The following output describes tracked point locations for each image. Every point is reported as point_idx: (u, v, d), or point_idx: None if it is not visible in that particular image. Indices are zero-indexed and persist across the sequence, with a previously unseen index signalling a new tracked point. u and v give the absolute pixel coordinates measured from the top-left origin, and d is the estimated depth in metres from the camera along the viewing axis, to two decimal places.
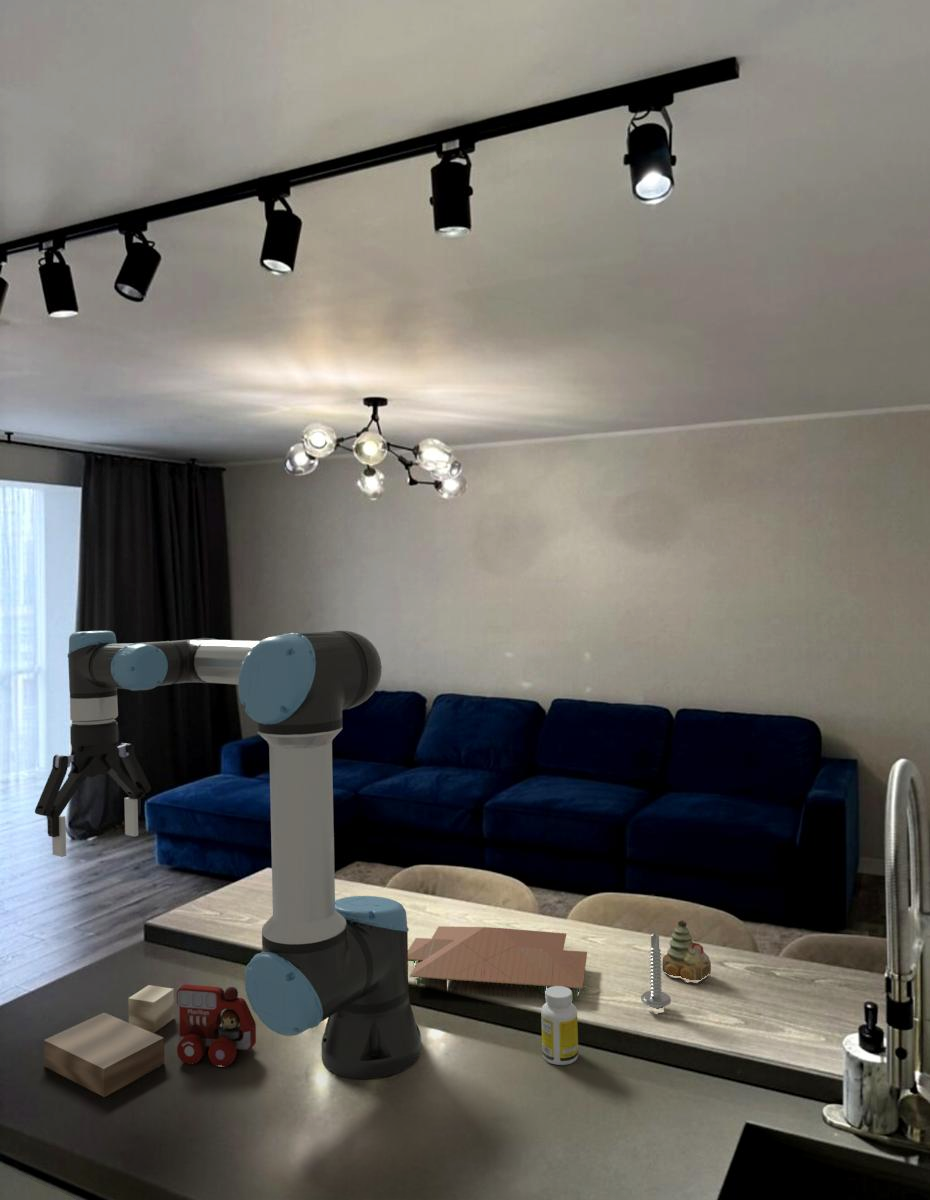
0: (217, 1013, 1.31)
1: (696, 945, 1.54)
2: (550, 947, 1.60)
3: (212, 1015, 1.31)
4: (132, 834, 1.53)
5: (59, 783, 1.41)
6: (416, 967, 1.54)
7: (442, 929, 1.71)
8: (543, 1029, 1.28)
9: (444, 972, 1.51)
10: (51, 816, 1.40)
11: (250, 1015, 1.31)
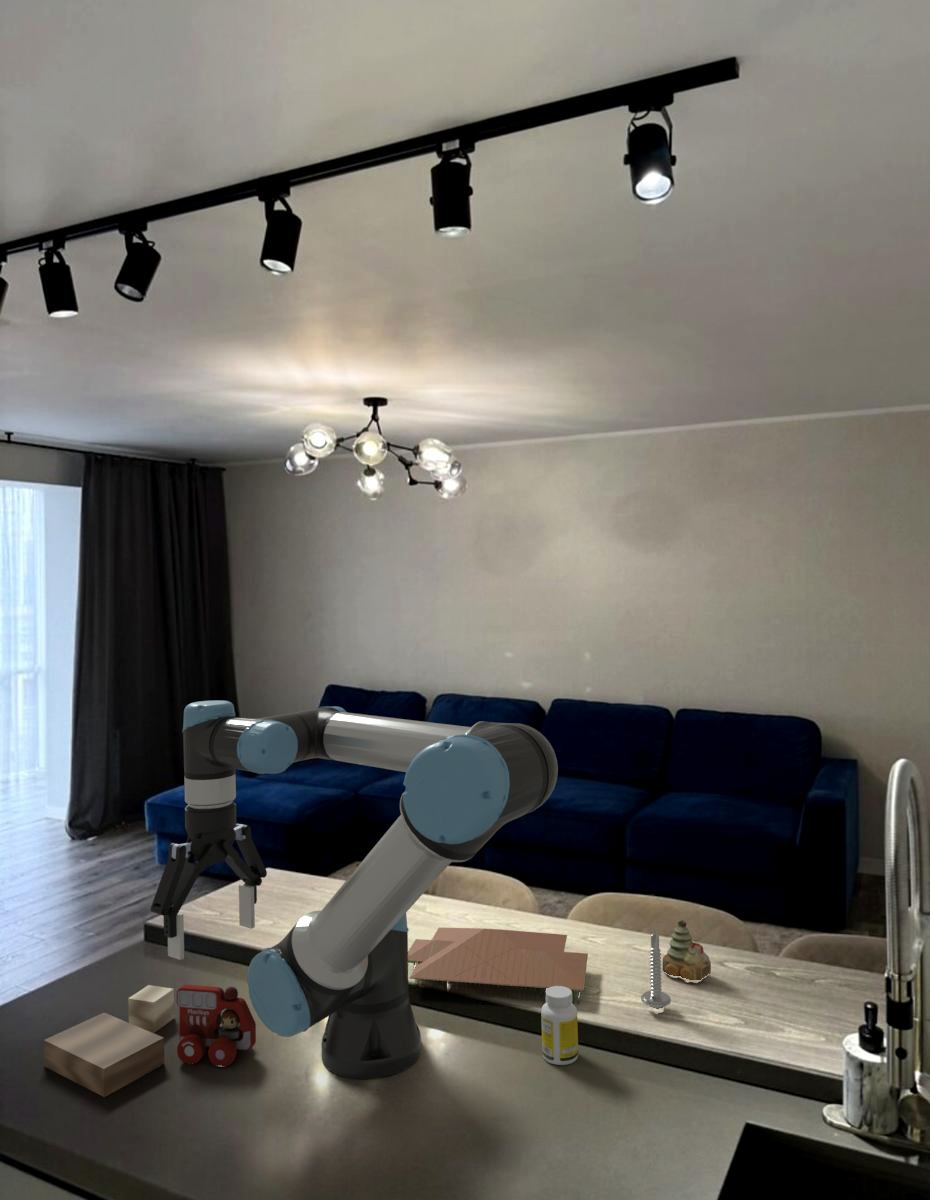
0: (217, 1013, 1.31)
1: (696, 945, 1.54)
2: (551, 949, 1.59)
3: (212, 1015, 1.31)
4: (248, 926, 1.37)
5: (177, 876, 1.25)
6: (416, 969, 1.54)
7: (442, 930, 1.70)
8: (543, 1029, 1.28)
9: (444, 974, 1.51)
10: (169, 914, 1.24)
11: (250, 1015, 1.31)
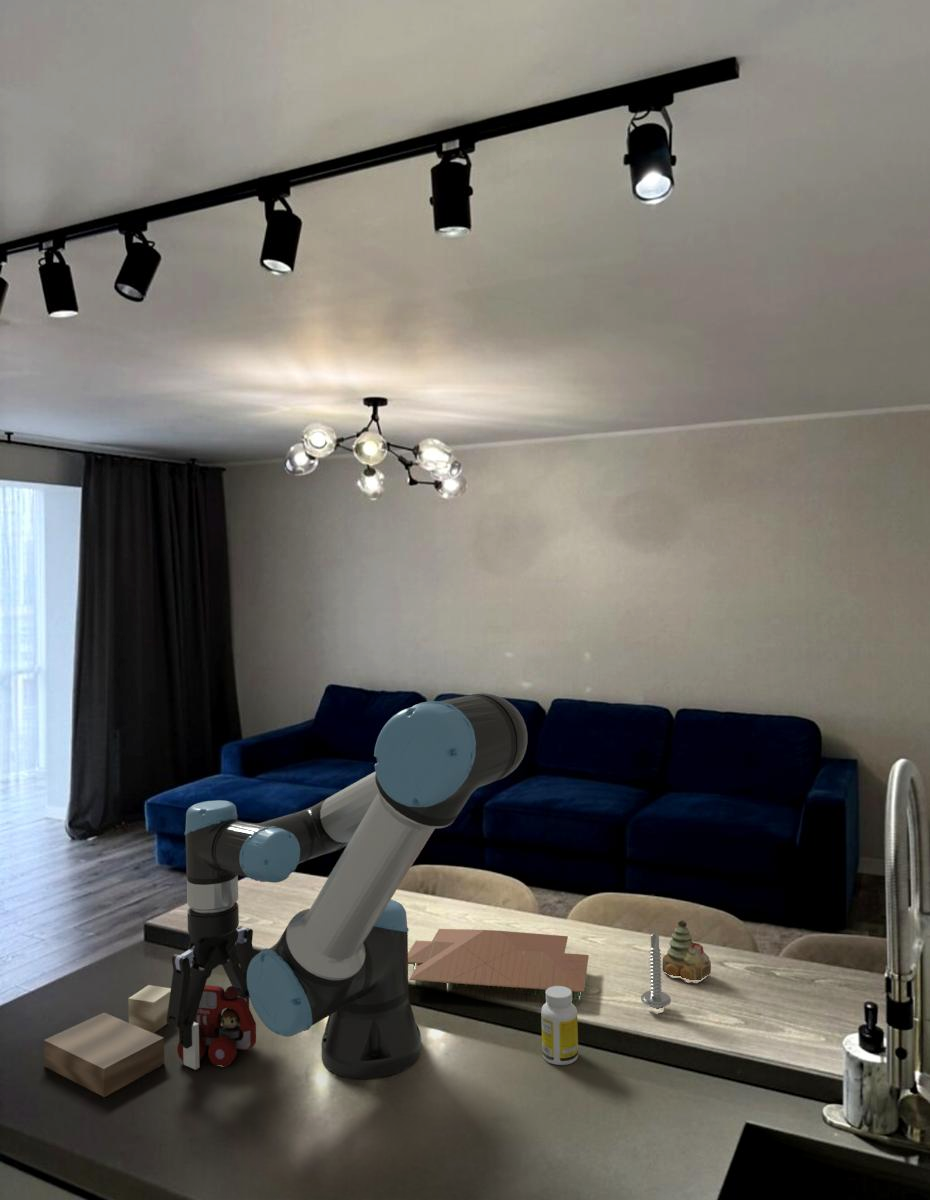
0: (217, 1012, 1.31)
1: (696, 945, 1.54)
2: (551, 950, 1.59)
3: (212, 1014, 1.31)
4: None
5: (185, 988, 1.26)
6: (416, 970, 1.53)
7: (442, 932, 1.69)
8: (543, 1029, 1.28)
9: (444, 976, 1.50)
10: (185, 1026, 1.26)
11: (250, 1015, 1.31)
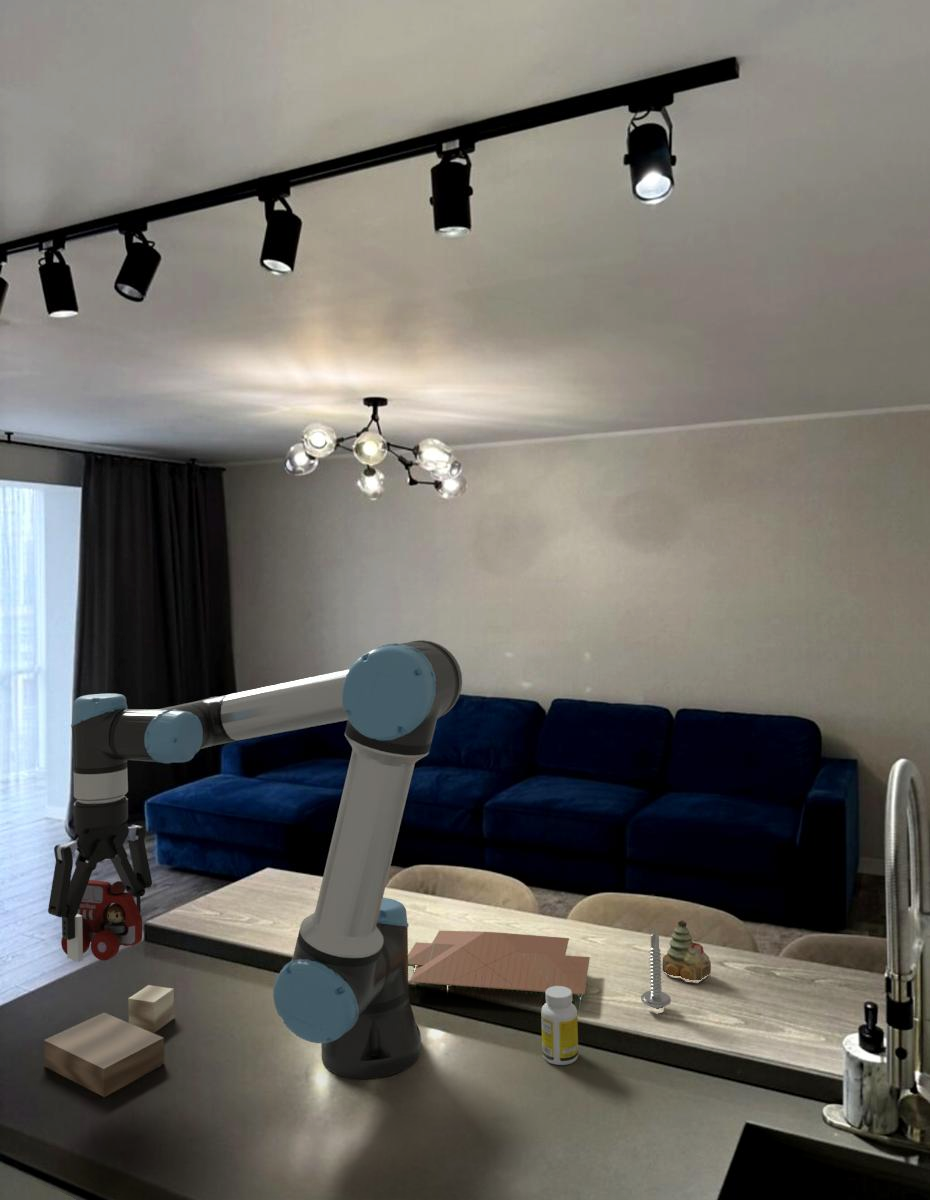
0: (103, 907, 1.29)
1: (696, 945, 1.54)
2: (552, 952, 1.58)
3: (98, 909, 1.29)
4: None
5: (67, 877, 1.24)
6: (416, 972, 1.52)
7: (443, 933, 1.68)
8: (543, 1029, 1.28)
9: (444, 978, 1.49)
10: (67, 917, 1.24)
11: (136, 910, 1.29)
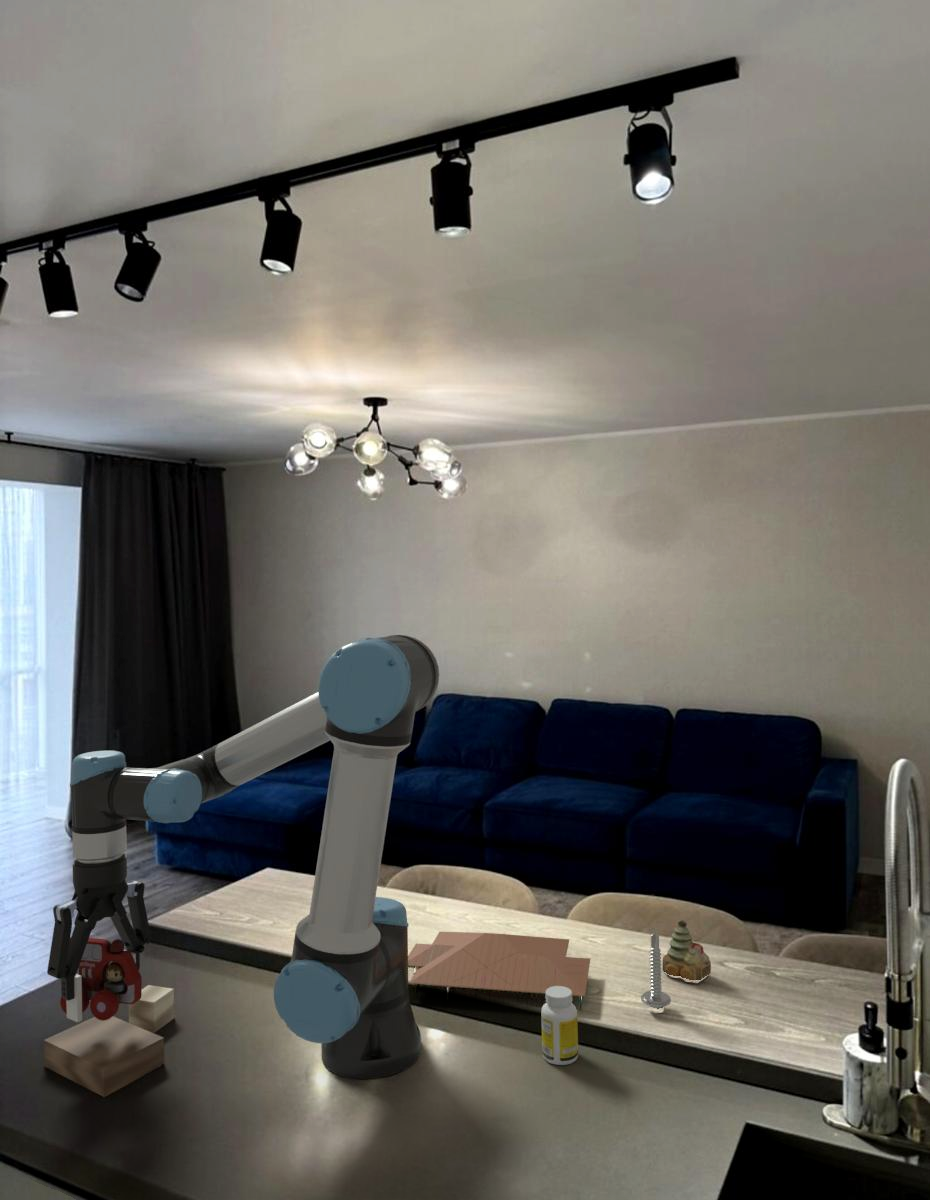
0: (102, 965, 1.29)
1: (696, 945, 1.54)
2: (552, 953, 1.57)
3: (97, 967, 1.29)
4: None
5: (66, 938, 1.23)
6: (416, 974, 1.52)
7: (443, 934, 1.68)
8: (543, 1029, 1.28)
9: (444, 979, 1.49)
10: (66, 978, 1.24)
11: (136, 968, 1.29)
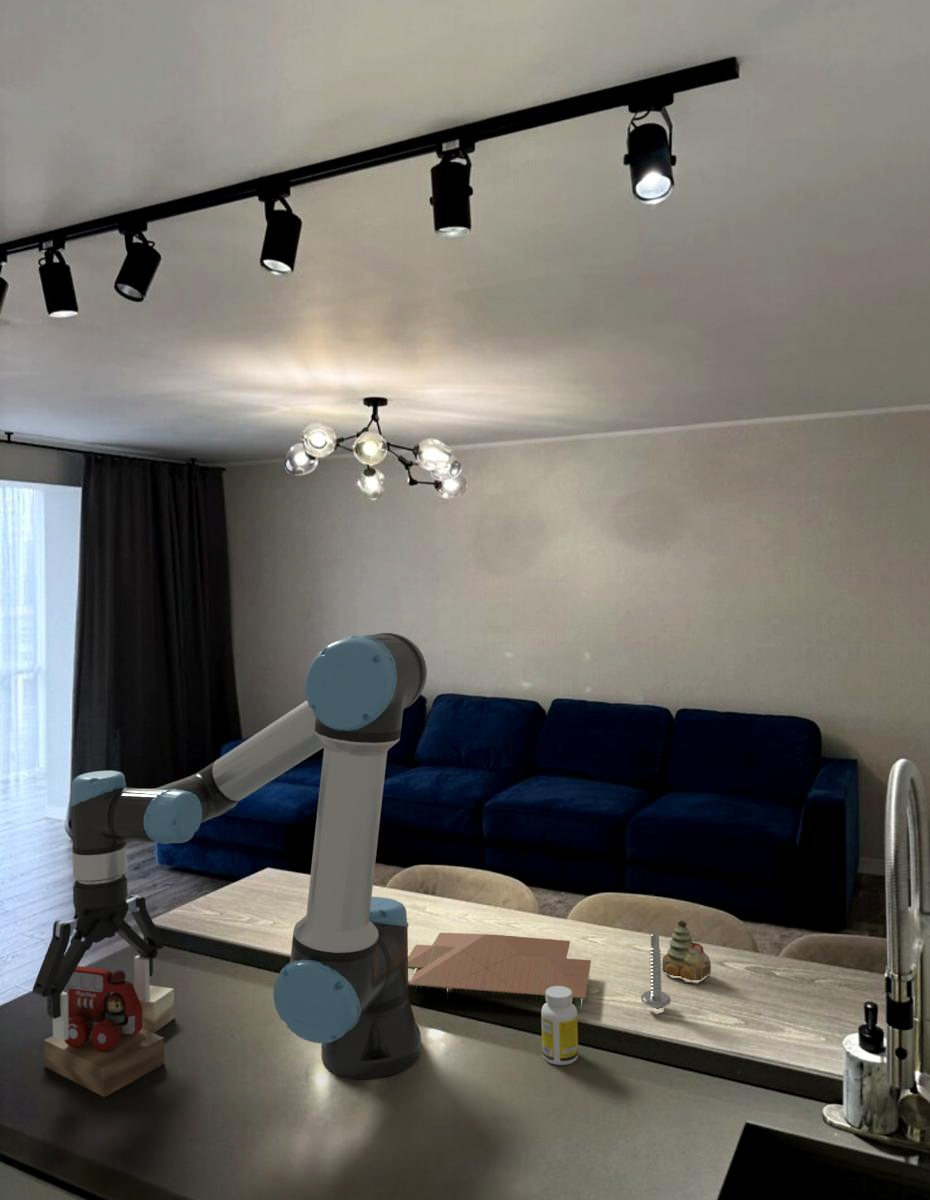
0: (104, 996, 1.29)
1: (696, 945, 1.54)
2: (553, 955, 1.57)
3: (99, 998, 1.29)
4: (143, 999, 1.34)
5: (60, 956, 1.23)
6: (416, 975, 1.51)
7: (443, 935, 1.67)
8: (543, 1029, 1.28)
9: (444, 981, 1.48)
10: (51, 995, 1.22)
11: (136, 999, 1.28)
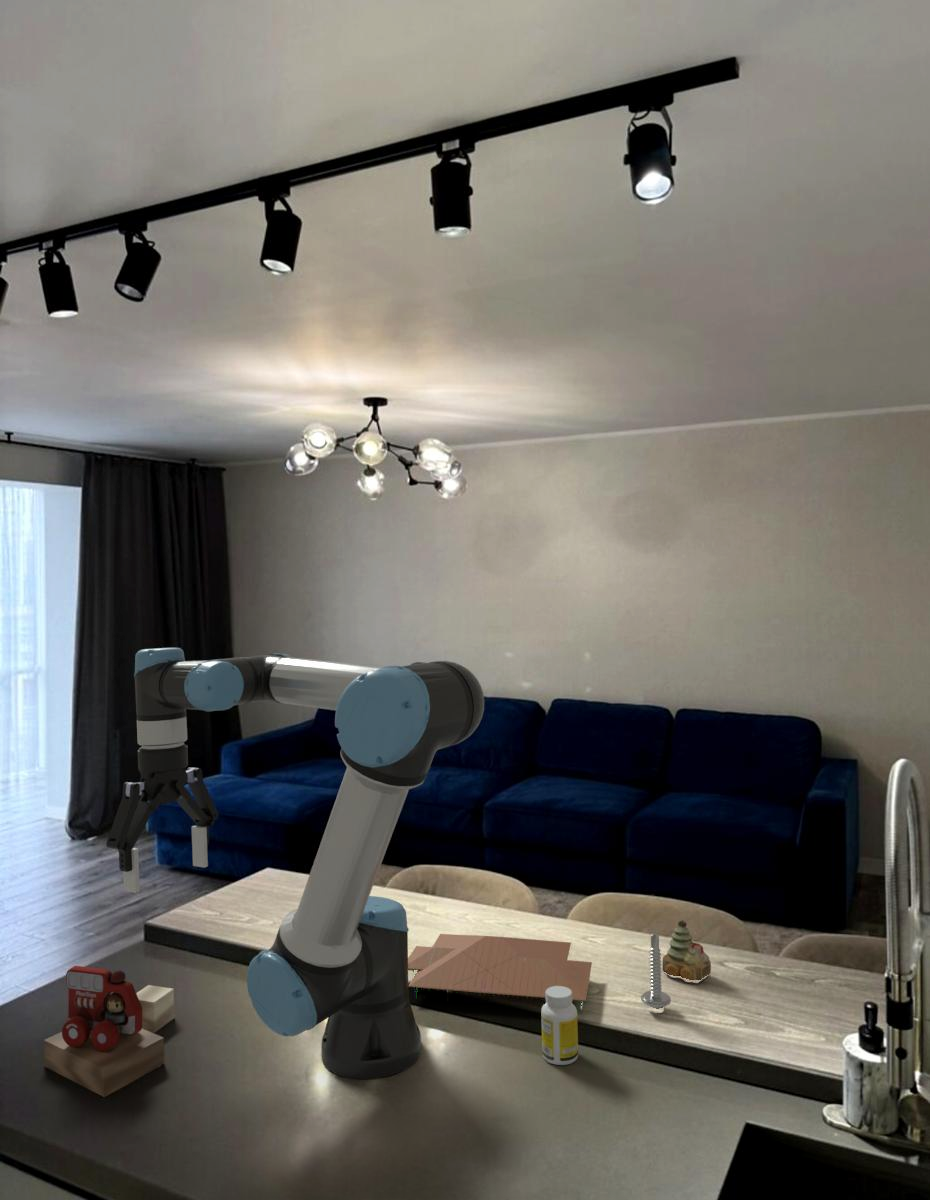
0: (104, 996, 1.29)
1: (696, 945, 1.54)
2: (553, 957, 1.56)
3: (99, 998, 1.29)
4: (201, 865, 1.43)
5: (131, 812, 1.31)
6: (415, 977, 1.51)
7: (443, 937, 1.67)
8: (543, 1029, 1.28)
9: (443, 983, 1.47)
10: (124, 849, 1.30)
11: (136, 999, 1.28)
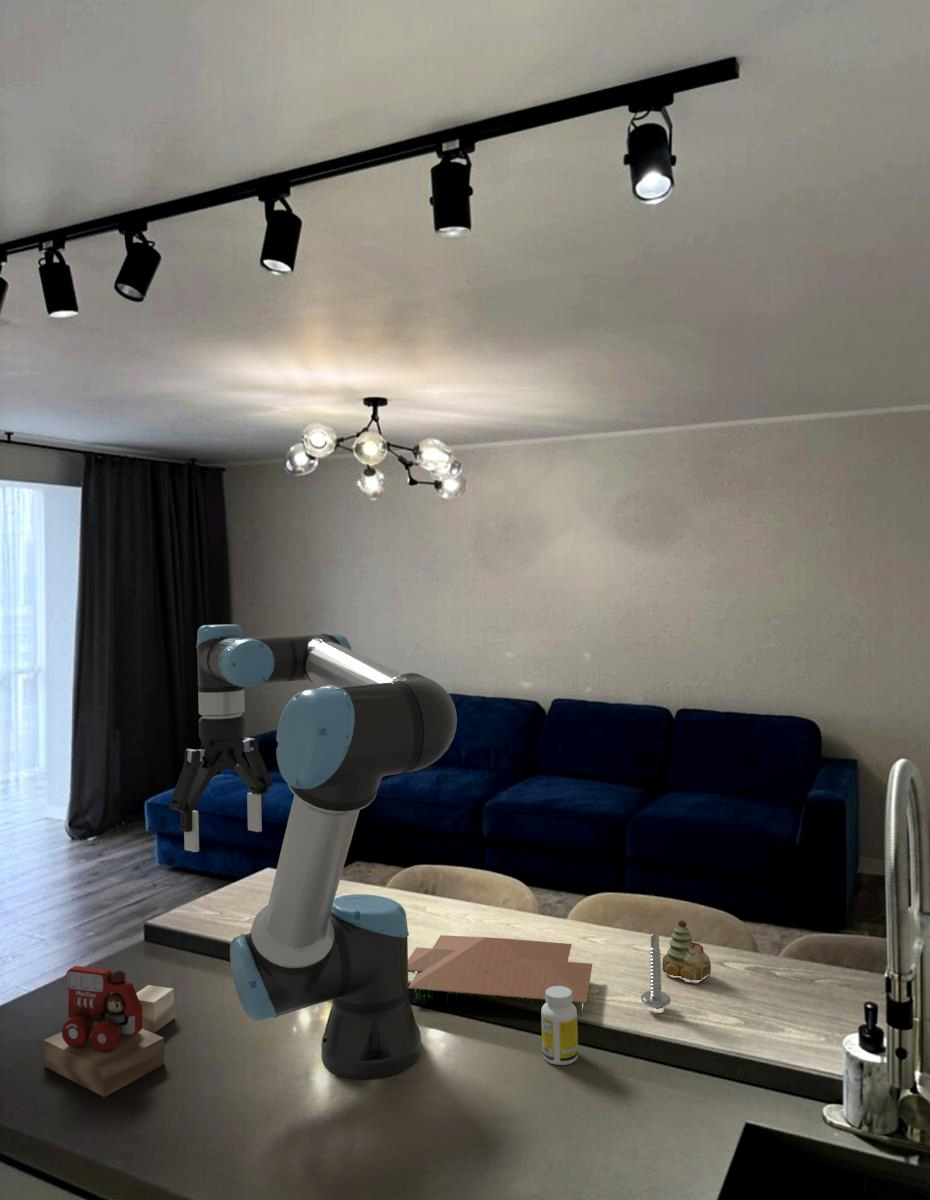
0: (104, 996, 1.29)
1: (696, 945, 1.54)
2: (554, 958, 1.55)
3: (99, 998, 1.29)
4: (256, 829, 1.51)
5: (192, 777, 1.40)
6: (415, 978, 1.50)
7: (444, 938, 1.66)
8: (543, 1029, 1.28)
9: (443, 984, 1.47)
10: (185, 811, 1.39)
11: (136, 999, 1.28)
